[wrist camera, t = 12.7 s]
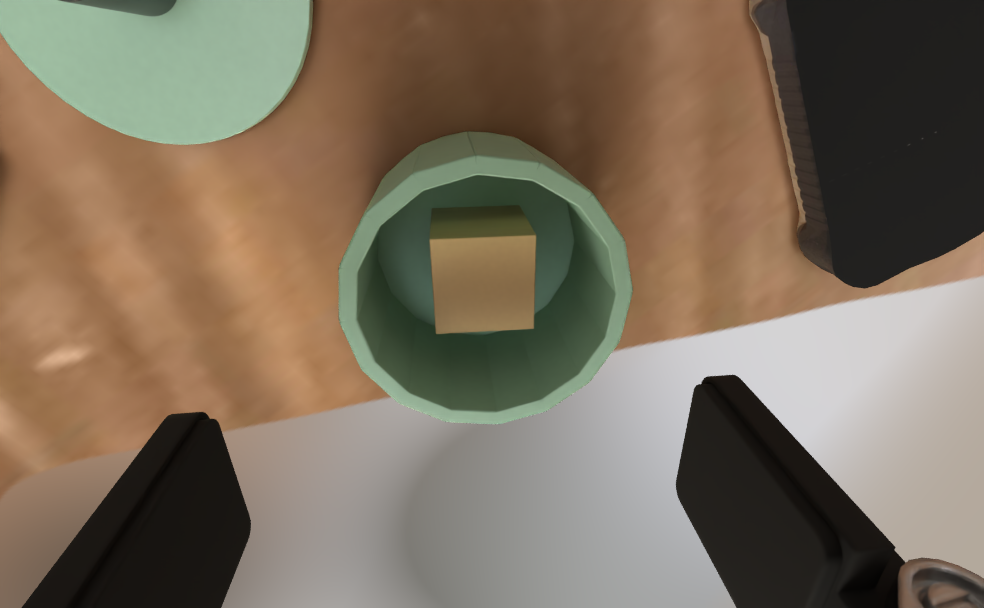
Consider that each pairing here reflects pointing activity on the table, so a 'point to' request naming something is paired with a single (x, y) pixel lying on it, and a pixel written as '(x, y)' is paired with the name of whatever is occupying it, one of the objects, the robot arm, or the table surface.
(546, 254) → the pot
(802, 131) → the black sponge
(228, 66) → the cover
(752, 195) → the table surface
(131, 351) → the table surface
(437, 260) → the block
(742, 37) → the table surface
